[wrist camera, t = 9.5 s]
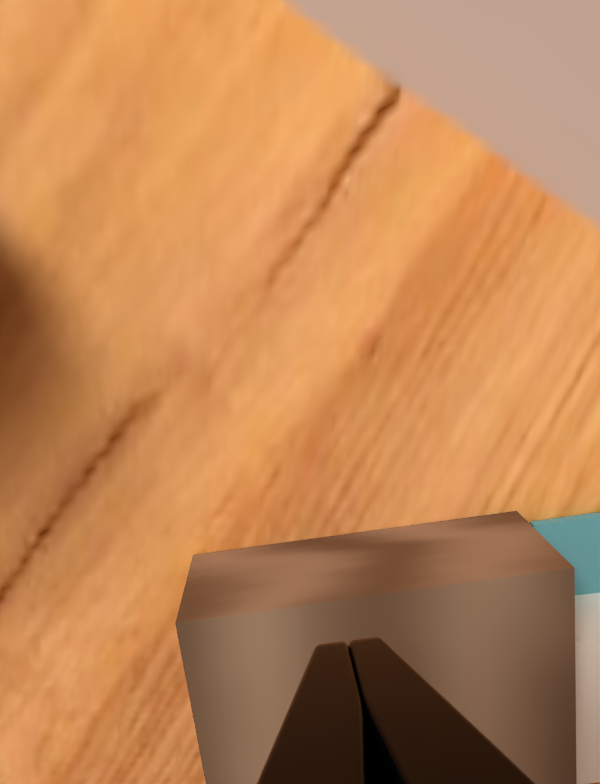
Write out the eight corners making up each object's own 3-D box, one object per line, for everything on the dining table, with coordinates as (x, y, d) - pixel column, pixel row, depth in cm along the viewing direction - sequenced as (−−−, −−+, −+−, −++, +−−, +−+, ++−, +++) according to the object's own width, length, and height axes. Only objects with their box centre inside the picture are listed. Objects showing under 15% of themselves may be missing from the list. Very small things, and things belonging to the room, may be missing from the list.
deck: (239, 818, 23) (234, 931, 19) (193, 555, 20) (175, 623, 16) (525, 776, 23) (577, 877, 19) (516, 510, 21) (574, 567, 17)
